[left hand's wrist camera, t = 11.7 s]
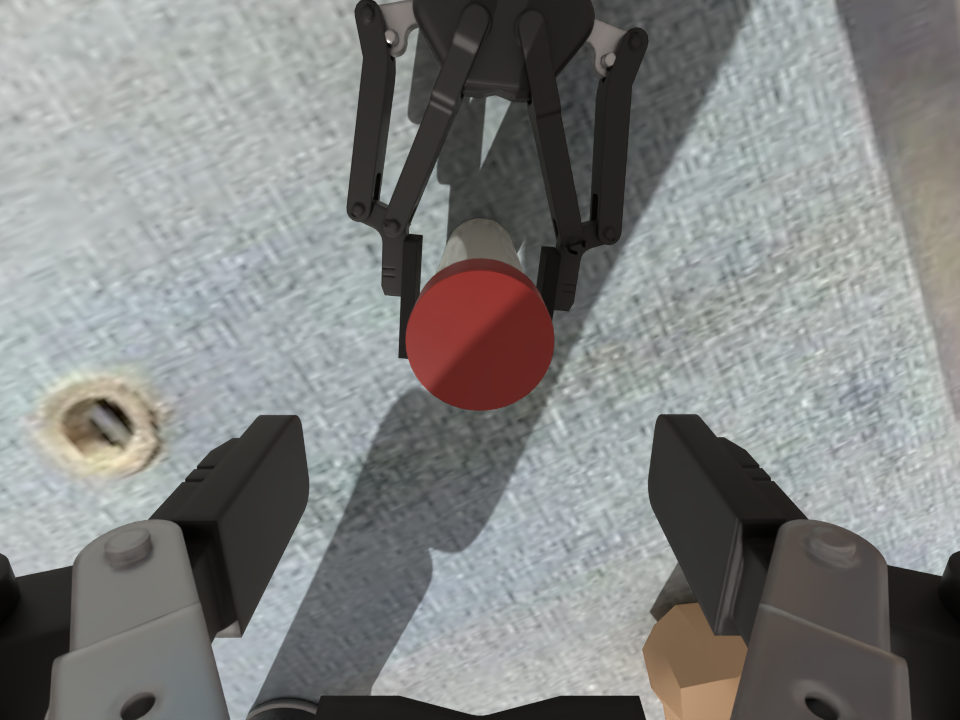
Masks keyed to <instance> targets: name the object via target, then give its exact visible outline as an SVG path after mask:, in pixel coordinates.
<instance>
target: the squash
mask: <svg viewBox="0 0 960 720" xmlns="http://www.w3.org/2000/svg"><path fill="white" fill-rule="evenodd" d="M642 650H643V654H644V659H645V663H646V667H647V672H648V676H649V680H650V685H651V688H652V690H653V691H654V692H655V694H656V695H657V697H658V698H659V699H660V701H661V702H662V704H663V707H664V713H665V719H666V720H730V717H731V713H732V709H733V705H734V701H735V697H736V693H737V689H738V685H739V681H740V678H741V674H742V670H743V666H744V662H745V658H746V654H747V650H748V648H747V646H746V644H745V642H744V641H743V639H742V637H741V636H714V634H713V632H712V630H711V628H710V626H709V624H708V622H707V619H706V617H705V615H704V613H703V611H702V609H701V607H700V605H699V603H690V604H680V605H675V606H674V607H673V608H672V609H671V610H670V611H669V612H668V613H667V614H666V615H665V616H663V617H662V618H661V619H660V620H659V621H658V622H657V623H656V624H655V625H654V627H653V629H652V631H651V633H650V635H649V637H648V639H647V641H646V643H645V645H644V647H643V649H642Z"/></svg>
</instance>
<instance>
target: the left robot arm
mask: <svg viewBox="0 0 960 720" xmlns="http://www.w3.org/2000/svg"><path fill="white" fill-rule="evenodd" d="M648 493H649V499H650V504H651V507H652V509H653V511H654V513H655V515H656V517H657V519H658V521H659V524H660V526H661V528H662V530H663V532H664V534H665V536H666V538H667V540H668V542H669V544H670V546H671V548H672V550H673V552H674V554H675V556H676V558H677V560H678V562H679V564H680V566H681V568H682V570H683V573H684V575H685V577H686V579H687V581H688V583H689V585H690V587H691V589H692V591H693V593H694V595H695V597H696V599H697V601H698V603H699V605H700V607H701V609H702V611H703V613H704V615H705V617H706V619H707V622H708V624H709V626H710V628H711V630H712V632H713V634H714V636H741V637H742V639H743V641H744V642H745V644H746V646H747V648H748V650H747V654H746V658H745V662H744V666H743V670H742V674H741V678H740V681H739V685H738V689H737V693H736V697H735V701H734V705H733V709H732V713H731V717H730V720H960V551H958V552H956V553H954V554H952V555H951V556H950V558H949V560H948V563H947V565H946V568H945V571H944V573H943V576H938V575H933V574H928V573H923V572H918V571H914V570H909V569H904V568H899V567H894V566H889V565H887V563H886V561H885V559H884V557H883V556H882V554H881V553H880V552H879V551H878V550H877V549H876V548H875V547H874V546H873V545H872V544H871V543H869V542H868V541H867V540H865V539H864V538H862V537H860V536H859V535H857V534H855V533H853V532H851V531H849V530H847V529H844V528H842V527H839V526H837V525H834V524H830V523H827V522H822V521H817V520H809V519H808V518H807V517H806V516H805V515H804V514H803V513H802V512H801V511H800V509H799V508H798V507H797V506H796V505H795V504H794V503H793V502H792V501H791V500H790V498H789V497H788V496H787V495H786V494H785V493H784V492H783V491H782V490H781V488H780V487H779V486H778V485H777V484H776V483H775V482H774V481H771V477H770V476H769V475H768V474H767V473H766V472H765V471H764V470H763V469H762V468H759V464H758V463H757V462H756V461H755V460H754V459H753V458H752V457H751V455H750V454H749V453H748V452H747V451H746V450H745V449H743V448H741V447H740V446H738V445H736V444H734V443H733V442H731V441H729V440H728V439H726V438H724V437H716V435H715V434H714V433H713V432H712V431H711V430H710V428H709V427H708V426H707V425H706V424H705V422H704V421H703V420H702V419H701V418H700V417H699V416H698V415H696V414H661V415H659V416H658V418H657V420H656V424H655V430H654V438H653V446H652V453H651V461H650V469H649V476H648ZM308 496H309V475H308V468H307V460H306V453H305V445H304V438H303V430H302V424H301V421H300V418H299V417H298V416H297V415H260V416H258V417H257V418H256V419H255V421H254V422H253V423H252V424H251V425H250V426H249V428H248V429H247V430H246V431H245V432H244V433H243V435H242V436H241V437H240V438H232V439H230V440H229V441H227V442H225V443H224V444H222V445H220V446H219V447H217V448H215V449H213V450H212V451H210V453H209V454H208V455H207V456H206V457H205V458H204V459H203V460H202V461H201V462H200V463H199V465H198V466H197V469H194V470H193V471H192V472H191V473H190V474H189V475H188V477H187V478H186V479H185V482H182V483H181V484H180V485H179V486H178V487H177V489H176V490H175V491H174V492H173V493H172V494H171V495H170V496H169V497H168V498H167V499H166V501H165V502H164V503H163V504H162V505H161V506H160V507H159V508H158V509H157V510H156V511H155V513H154V514H153V515H152V516H151V517H150V518H149V519H148V520H143V521H138V522H133V523H130V524H126V525H123V526H121V527H118V528H116V529H113V530H111V531H109V532H107V533H105V534H103V535H101V536H100V537H98V538H96V539H95V540H93V541H92V542H91V543H89V544H88V545H87V546H86V547H85V548H84V549H83V550H82V551H81V552H80V553H79V554H78V556H77V557H76V559H75V561H74V563H73V566H68V567H64V568H59V569H54V570H50V571H45V572H40V573H35V574H30V575H25V576H21V577H16V578H15V575H14V573H13V570H12V568H11V565H10V563H9V560H8V558H7V557H6V556H5V555H3V554H1V553H0V720H230V717H229V713H228V709H227V705H226V701H225V697H224V693H223V689H222V685H221V681H220V678H219V674H218V670H217V666H216V662H215V658H214V654H213V650H212V646H211V644H212V642H213V640H214V638H241V637H242V635H243V633H244V631H245V629H246V627H247V625H248V623H249V621H250V619H251V617H252V615H253V613H254V611H255V609H256V607H257V605H258V603H259V601H260V599H261V597H262V595H263V593H264V591H265V589H266V587H267V585H268V583H269V581H270V579H271V577H272V575H273V573H274V571H275V569H276V567H277V565H278V563H279V561H280V559H281V557H282V555H283V553H284V551H285V549H286V547H287V545H288V543H289V541H290V539H291V537H292V535H293V533H294V531H295V529H296V527H297V525H298V523H299V521H300V519H301V517H302V515H303V513H304V511H305V508H306V505H307V501H308ZM246 720H646V718H645V714H644V711H643V708H642V704H641V701H640V697H639V696H558V697H554V698H550V699H547V700H543V701H539V702H535V703H531V704H528V705H524V706H520V707H516V708H512V709H508V710H505V711H501V712H497V713H493V714H489V715H484V716H476V715H471V714H467V713H463V712H459V711H455V710H452V709H448V708H444V707H440V706H436V705H432V704H429V703H425V702H421V701H417V700H413V699H410V698H406V697H402V696H321V697H320V701H319V704H318V705H315V704H313V703H310V702H307V701H303V700H297V699H278V700H272V701H269V702H266V703H263V704H261V705H259V706H258V707H256V708H255V709H253V710H252V711H251V712H250V713H249V715H248V716H247V718H246Z"/></svg>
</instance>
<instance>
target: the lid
mask: <svg viewBox="0 0 960 720" xmlns="http://www.w3.org/2000/svg"><path fill="white" fill-rule="evenodd" d="M406 351H407V356H408V360H409V362H410V365H411V368H412V370H413V372H414V373H415V375H416V377H417V378H418V380H419V381H420V382H421V384H422V385H423V386H424V387H425V388H426V389H427V390H428V391H429V392H430V393H432V394H433V395H434V396H435V397H437V398H438V399H440V400H442V401H443V402H446V403H448V404H450V405H452V406H455V407H458V408H462V409H467V410H476V411H483V410H493V409H498V408H502V407H505V406H508V405H510V404H513V403H515V402H516V401H518V400H520V399H522V398H523V397H525V396H526V395H527V394H529V393H530V392H531V391H532V390H533V389H534V388H535V387H536V386H537V385H538V384H539V382H540V381H541V380H542V378H543V377H544V375H545V374H546V372H547V370H548V368H549V365H550V363H551V359H552V356H553V351H554V329H553V324H552V321H551V317H550V315H549V313H548V310H547V308H546V306H545V303H544V301H543V299H542V297H541V294H540V293H539V291H538V289H537V288H536V286H535V285H534V284H533V282H532V281H531V280H530V279H529V278H528V277H527V276H526V275H525V274H524V273H522V272H521V271H519V270H518V269H517V268H515V267H513V266H511V265H509V264H507V263H504V262H501V261H498V260H493V259H486V258H473V259H467V260H462V261H459V262H456V263H453V264H451V265H449V266H447V267H445V268H444V269H442V270H441V271H439V272H438V273H437V274H435V275H434V276H433V277H432V278H431V279H430V280H429V281H428V282H427V284H426V285H425V286H424V288H423V289H422V291H421V293H420V295H419V297H418V299H417V301H416V303H415V306H414V308H413V310H412V312H411V315H410V318H409V321H408V324H407V329H406Z"/></svg>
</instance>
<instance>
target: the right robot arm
mask: <svg viewBox="0 0 960 720" xmlns="http://www.w3.org/2000/svg"><path fill="white" fill-rule="evenodd" d="M355 19H356V24H357V29H358V34H359V39H360V44H361V49H362V54H363V64H362V73H361V82H360V91H359V100H358V109H357V118H356V127H355V136H354V145H353V154H352V163H351V172H350V181H349V190H348V199H347V213H348V215H349V217H350V218H351V219H352V220H354V221H356V222H362V223H364V224H366V225H368V226H371V227H373V228H374V229H376V230H377V231H378V232H379V233H380V235H381V237H382V242H383V246H382V284H381V286H382V289H383V291H384V294H385V295H389V296H400V297H401V306H400V331H399V356H398V358H404V359H408V356H407V351H406V329H407V324H408V321H409V318H410V315H411V312H412V310H413V308H414V306H415V303H416V301H417V299H418V297H419V295H420V279H421V259H422V240H423V235H416V234H409V227H410V225H411V221H412V219H413V216H414V214H415V212H416V209H417V207H418V204H419V202H420V200H421V197H422V195H423V192H424V190H425V187H426V185H427V183H428V180H429V178H430V175H431V173H432V171H433V168H434V166H435V163H436V161H437V159H438V156H439V154H440V151H441V149H442V146H443V144H444V142H445V139H446V137H447V134H448V132H449V130H450V127H451V125H452V122H453V120H454V118H455V115H456V114H457V112H458V109H459V107H460V105H461V102H462V100H463V97H464V95H465V97H474V98H484V97H489V96H494V95H496V96H499V97H502V98H504V99H506V100H509V101H513V102H523V103H527V108H528V113H529V117H530V121H531V123H532V127H533V132H534V137H535V141H536V146H537V151H538V156H539V160H540V165H541V170H542V175H543V179H544V184H545V189H546V194H547V198H548V203H549V208H550V213H551V217H552V222H553V227H554V231H555V236H556V240H557V242H556V248H555V247H546V246H542V248H541V255H540V263H539V271H538V278H537V286H536V288H537V289H538V291H539V293H540V294H541V297H542V299H543V301H544V303H545V306H546V308H547V310H548V313H549V315H550V317H551V321H552V318H553V311H554V310H561V311H569V310H570V308H571V307H572V305H573V303H574V298H575V291H576V284H577V279H578V272H579V266H580V260H581V257H582V255H583V254H584V253H585V251H587V250H588V249H590V248H593V247H597V246H601V245H605V244H606V245H612V244H614V243H616V242H617V241H618V240H619V238H620V236H621V230H622V216H623V203H624V189H625V175H626V162H627V148H628V135H629V121H630V107H631V94H632V84H633V82H634V79H635V77H636V74H637V72H638V69H639V67H640V64H641V62H642V59H643V57H644V54H645V52H646V49H647V46H648V35H647V34H646V32H645V31H644V30H643V29H641V28H637V27H635V28H632V29H630V30H629V31H628V32H627V31H624V30H621V29H619V28H616V27H614V26H611V25H609V24H606V23H604V22H602V21H599V20H597V19H595V14H594V9H593V6H592V3H591V0H405V1H399V2H394V3H388V4H382V5H377V3H376V2H375V1H373V0H361V1H359V3H358V4H357V5H356V8H355ZM416 28H420V30H421V32H422V33H423V35H424V37H425V39H426V41H427V42H428V44H429V46H430V48H431V50H432V52H433V53H434V55H435V57H436V59H437V61H438V63H439V64H440V66H441V70H440V73H439V76H438V78H437V81H436V83H435V86H434V88H433V91H432V94H431V98H430V101H429V104H428V107H427V109H426V112H425V114H424V117H423V119H422V122H421V125H420V127H419V130H418V132H417V135H416V137H415V140H414V142H413V145H412V147H411V150H410V152H409V155H408V157H407V160H406V162H405V165H404V168H403V170H402V173H401V175H400V178H399V180H398V183H397V185H396V188H395V190H394V193H393V195H392V198H391V200H390V203H389V205H387V204H385V203H383V202H381V201H379V200H380V192H381V185H382V177H383V169H384V162H385V154H386V146H387V139H388V131H389V124H390V116H391V108H392V101H393V93H394V85H395V75H396V63H395V57H399V56H401V55H403V54H404V53H405V51H406V49H407V41H408V36H409V34H410V33H411V31H413V30H414V29H416ZM582 45H584V46H586V47H587V48H588V49H589V50H590V52H591V56H592V61H591V70H592V72H593V74H594V75H595V76H596V77H598V78H600V81H599V85H598V89H597V96H596V108H595V127H594V146H593V165H592V184H591V203H590V221H587V222H583V223H582V222H581V217H580V212H579V207H578V201H577V196H576V191H575V186H574V181H573V175H572V170H571V165H570V160H569V155H568V149H567V144H566V139H565V134H564V129H563V123H562V118H561V105H560V99H559V94H558V89H557V84H556V77H557V76H558V75H559V73H560V72H561V71H562V70H563V69H564V67H565V66H566V65H567V64H568V62H569V61H570V60H571V59H572V58H573V56H574V55H575V54H576V53H577V52H578V50H579V49H580V48H581V47H582Z"/></svg>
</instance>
